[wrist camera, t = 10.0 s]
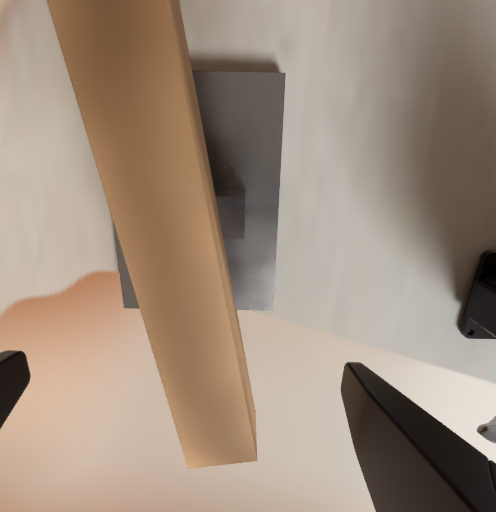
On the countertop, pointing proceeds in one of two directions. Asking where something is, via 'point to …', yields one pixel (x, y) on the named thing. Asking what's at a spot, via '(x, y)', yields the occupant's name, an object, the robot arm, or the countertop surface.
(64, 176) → the countertop surface
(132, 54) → the oak rod
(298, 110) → the countertop surface
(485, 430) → the driftwood
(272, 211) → the ridge stand
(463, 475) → the robot arm
